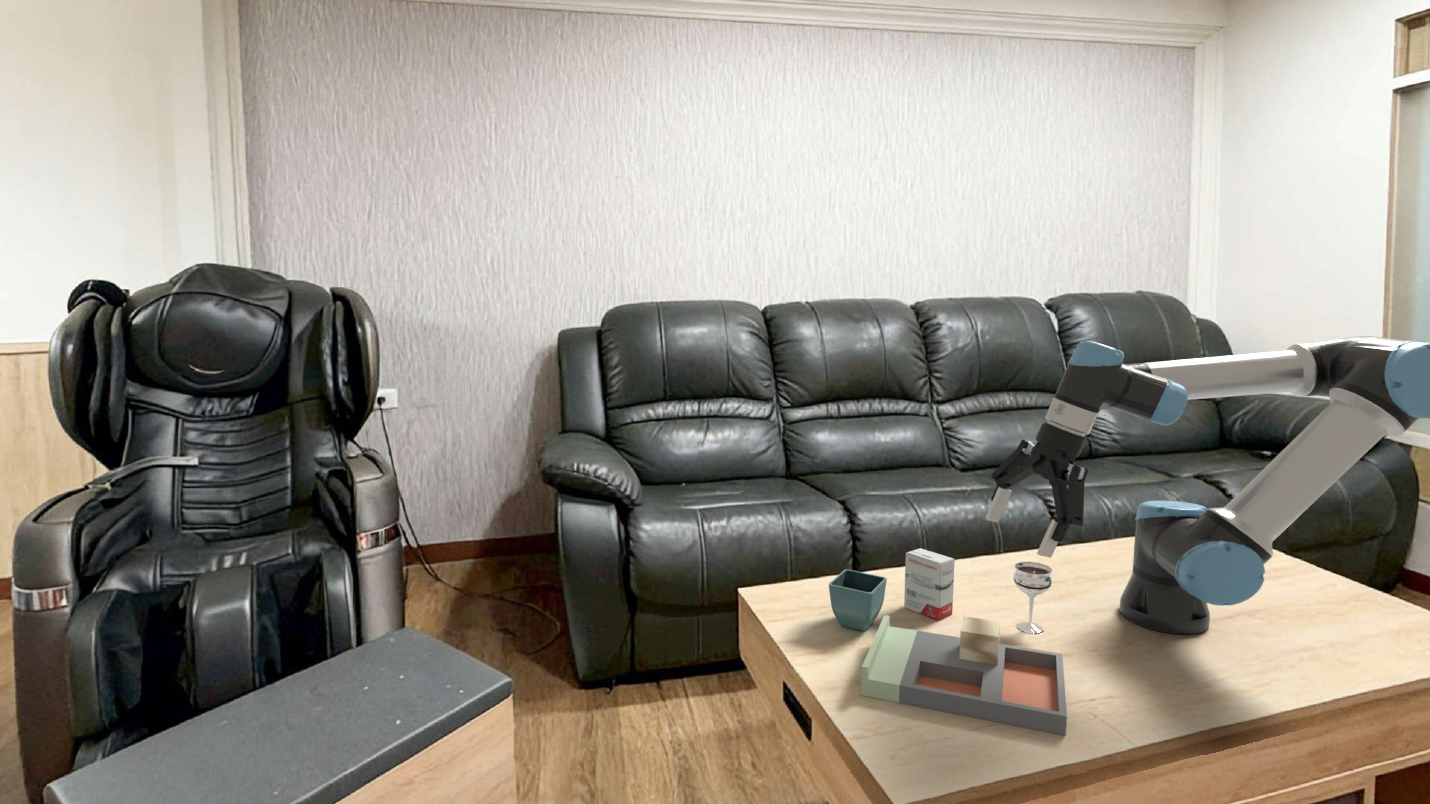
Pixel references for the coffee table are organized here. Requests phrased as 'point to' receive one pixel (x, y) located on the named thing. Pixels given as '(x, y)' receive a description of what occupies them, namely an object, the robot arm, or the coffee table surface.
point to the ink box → (929, 583)
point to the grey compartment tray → (966, 679)
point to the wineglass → (1032, 588)
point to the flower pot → (857, 598)
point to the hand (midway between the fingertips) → (1016, 537)
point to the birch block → (979, 640)
